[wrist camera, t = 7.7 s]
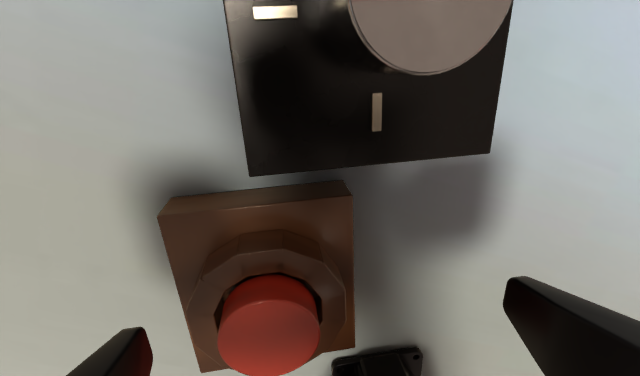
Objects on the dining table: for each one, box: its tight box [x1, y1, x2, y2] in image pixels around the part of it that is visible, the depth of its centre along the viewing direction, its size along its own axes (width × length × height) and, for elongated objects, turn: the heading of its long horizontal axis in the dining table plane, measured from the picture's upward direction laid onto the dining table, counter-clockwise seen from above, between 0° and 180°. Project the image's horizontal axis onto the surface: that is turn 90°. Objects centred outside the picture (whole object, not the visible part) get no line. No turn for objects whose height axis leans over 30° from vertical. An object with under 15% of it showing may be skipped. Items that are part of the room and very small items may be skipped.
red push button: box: [217, 274, 320, 376], centre depth 14 cm, size 4×4×2 cm
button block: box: [157, 180, 355, 373], centre depth 16 cm, size 10×9×4 cm
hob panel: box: [223, 0, 513, 177], centre depth 12 cm, size 11×10×4 cm
